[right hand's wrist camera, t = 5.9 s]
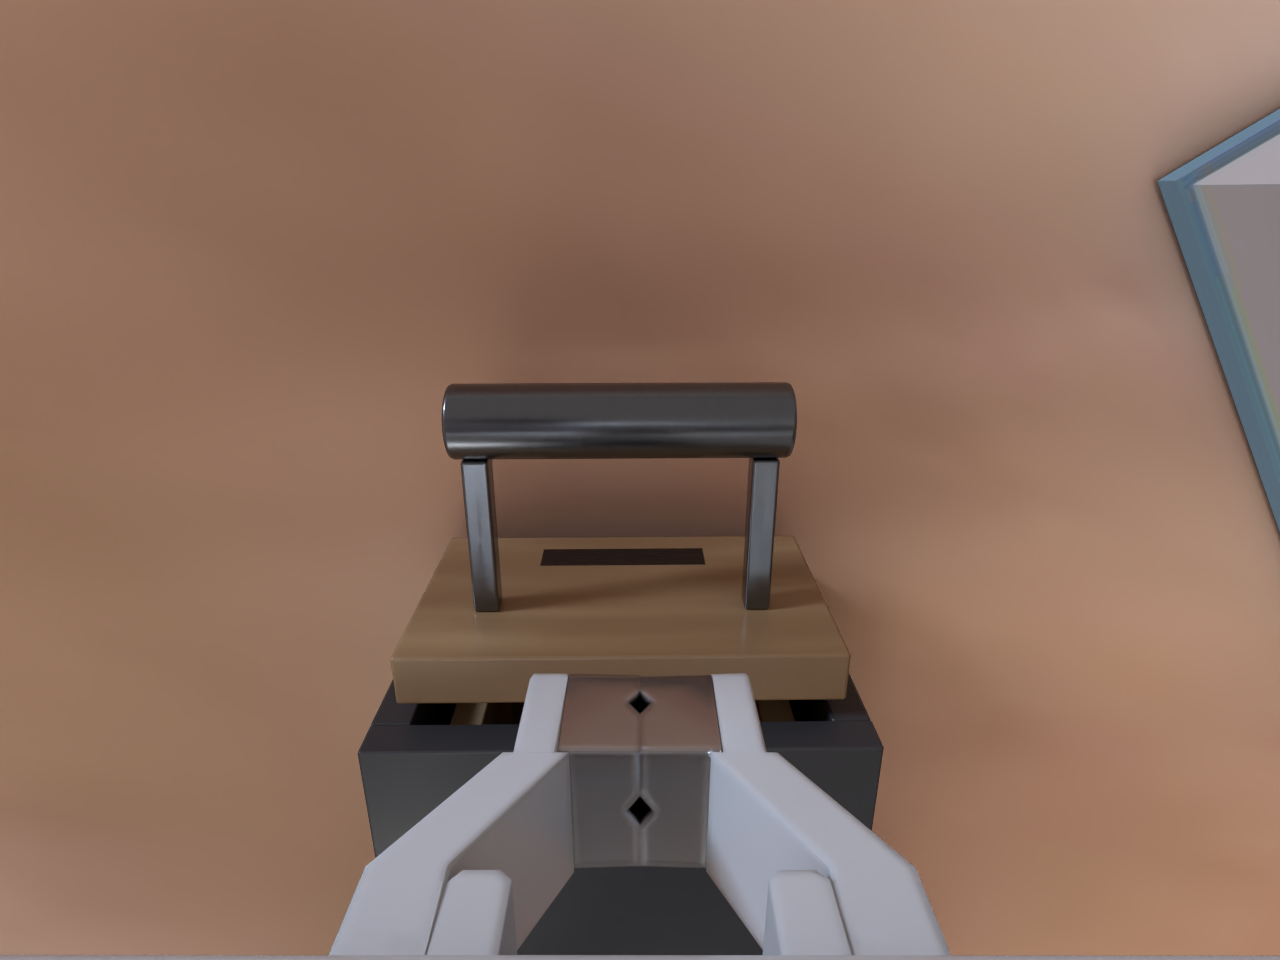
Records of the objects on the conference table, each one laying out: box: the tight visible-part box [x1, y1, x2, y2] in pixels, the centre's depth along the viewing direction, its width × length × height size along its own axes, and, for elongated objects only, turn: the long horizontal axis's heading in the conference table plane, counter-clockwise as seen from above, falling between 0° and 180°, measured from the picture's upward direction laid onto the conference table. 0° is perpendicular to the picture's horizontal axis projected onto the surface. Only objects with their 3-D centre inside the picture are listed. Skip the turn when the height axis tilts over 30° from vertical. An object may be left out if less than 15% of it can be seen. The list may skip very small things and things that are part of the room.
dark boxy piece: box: [358, 673, 883, 955], centre depth 23 cm, size 20×11×8 cm, turn 0°
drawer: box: [391, 382, 851, 725], centre depth 21 cm, size 24×10×6 cm, turn 0°
